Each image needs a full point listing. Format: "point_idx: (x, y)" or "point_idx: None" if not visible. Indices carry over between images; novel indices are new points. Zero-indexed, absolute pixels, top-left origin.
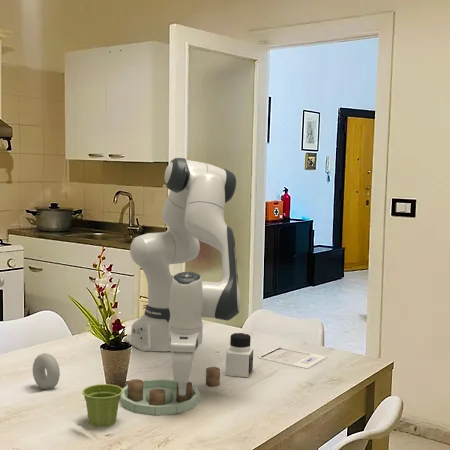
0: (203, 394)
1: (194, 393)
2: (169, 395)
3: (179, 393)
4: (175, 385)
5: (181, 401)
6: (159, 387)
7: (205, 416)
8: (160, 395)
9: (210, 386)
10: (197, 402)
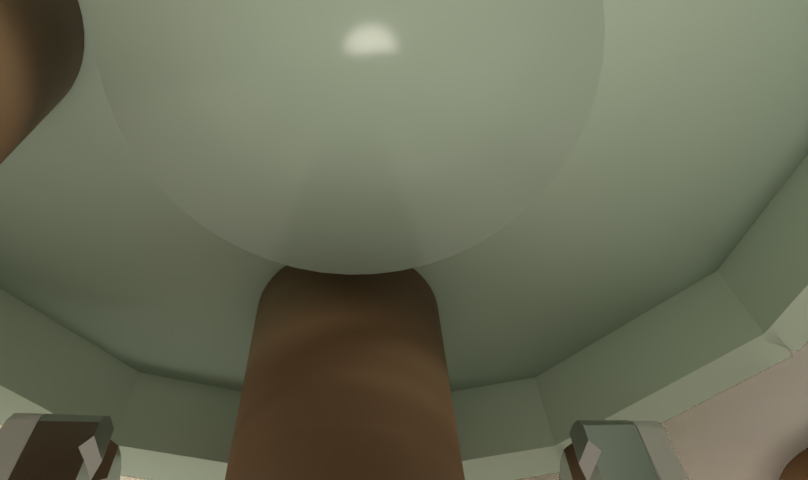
0: None
1: None
2: (215, 232)
3: (7, 433)
4: (774, 248)
5: (258, 312)
6: (594, 62)
7: None
8: None
9: (794, 459)
10: None
